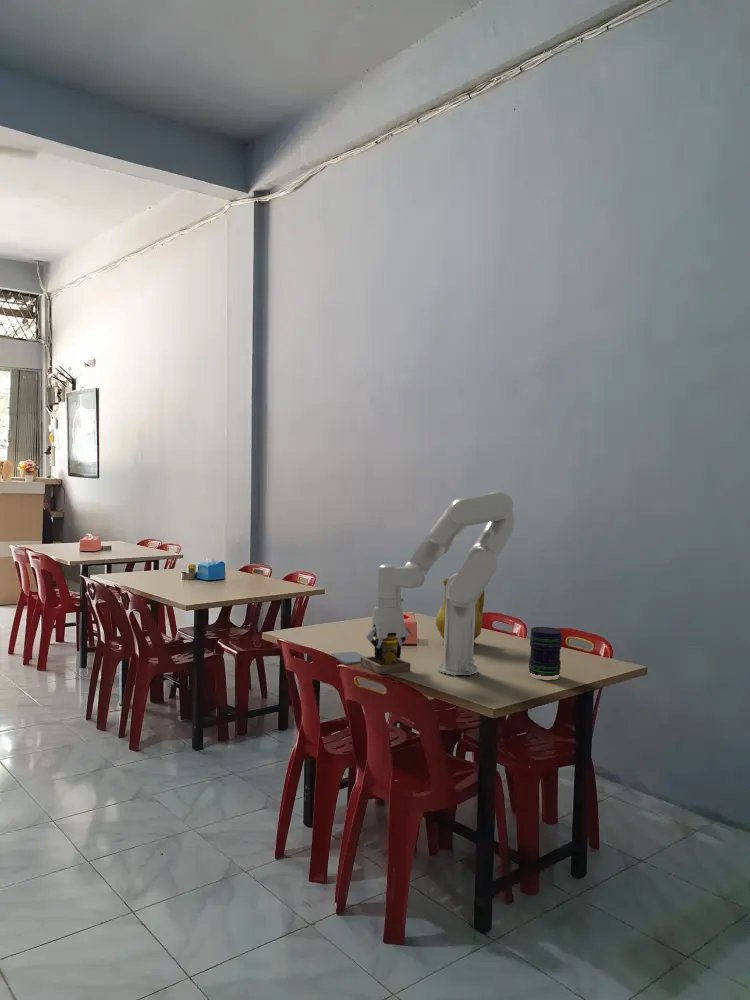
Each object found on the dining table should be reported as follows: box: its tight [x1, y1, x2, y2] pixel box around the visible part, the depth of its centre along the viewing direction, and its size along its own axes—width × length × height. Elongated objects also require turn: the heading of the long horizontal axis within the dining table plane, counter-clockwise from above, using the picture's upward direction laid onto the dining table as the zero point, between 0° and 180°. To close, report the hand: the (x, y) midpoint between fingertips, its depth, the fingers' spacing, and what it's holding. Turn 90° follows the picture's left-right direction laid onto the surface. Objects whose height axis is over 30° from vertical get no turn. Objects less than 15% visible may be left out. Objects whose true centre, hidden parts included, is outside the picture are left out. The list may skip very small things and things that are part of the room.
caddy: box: [360, 655, 412, 675], centre depth 249 cm, size 12×11×2 cm
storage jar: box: [528, 626, 563, 676], centre depth 246 cm, size 10×10×15 cm
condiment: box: [378, 633, 398, 665], centre depth 248 cm, size 7×8×12 cm
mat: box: [330, 651, 366, 665], centre depth 259 cm, size 13×10×1 cm
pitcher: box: [435, 575, 486, 645], centre depth 288 cm, size 17×19×25 cm
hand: (387, 657), depth 249 cm, fingers closed on condiment, 6 cm apart
